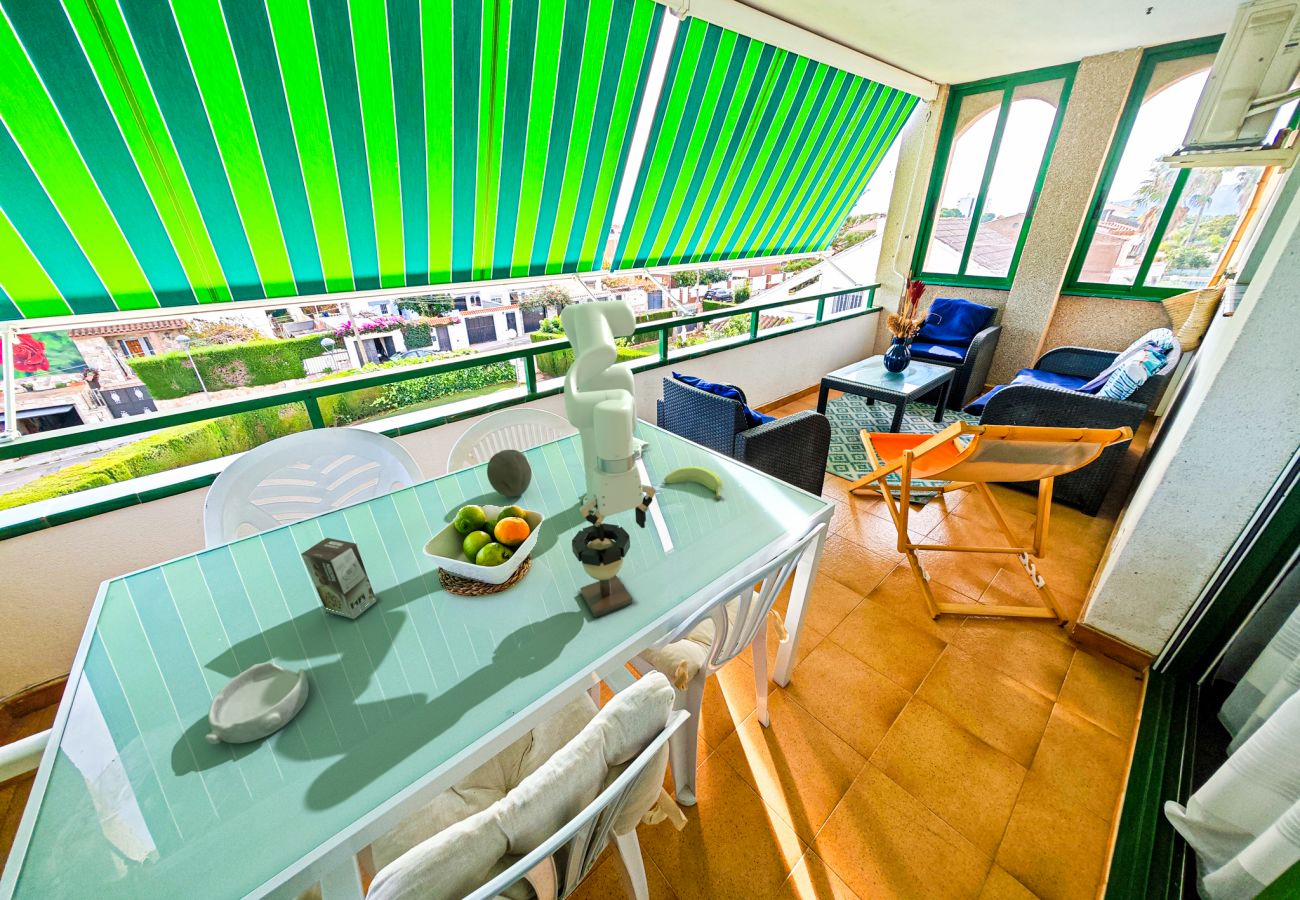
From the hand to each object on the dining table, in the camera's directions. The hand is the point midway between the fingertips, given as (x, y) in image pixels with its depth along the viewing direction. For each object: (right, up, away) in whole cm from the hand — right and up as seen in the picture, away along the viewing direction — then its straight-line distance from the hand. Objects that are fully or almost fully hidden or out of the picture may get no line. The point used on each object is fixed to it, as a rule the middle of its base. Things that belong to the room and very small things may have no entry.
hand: (620, 531), depth 100 cm
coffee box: (-62, -18, +5) cm, 65 cm away
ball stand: (-4, -16, +5) cm, 17 cm away
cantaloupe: (-39, +3, +51) cm, 64 cm away
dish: (-62, -29, -18) cm, 71 cm away
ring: (-4, -3, -1) cm, 5 cm away
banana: (+22, +5, +50) cm, 55 cm away
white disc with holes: (-3, +18, +79) cm, 81 cm away
